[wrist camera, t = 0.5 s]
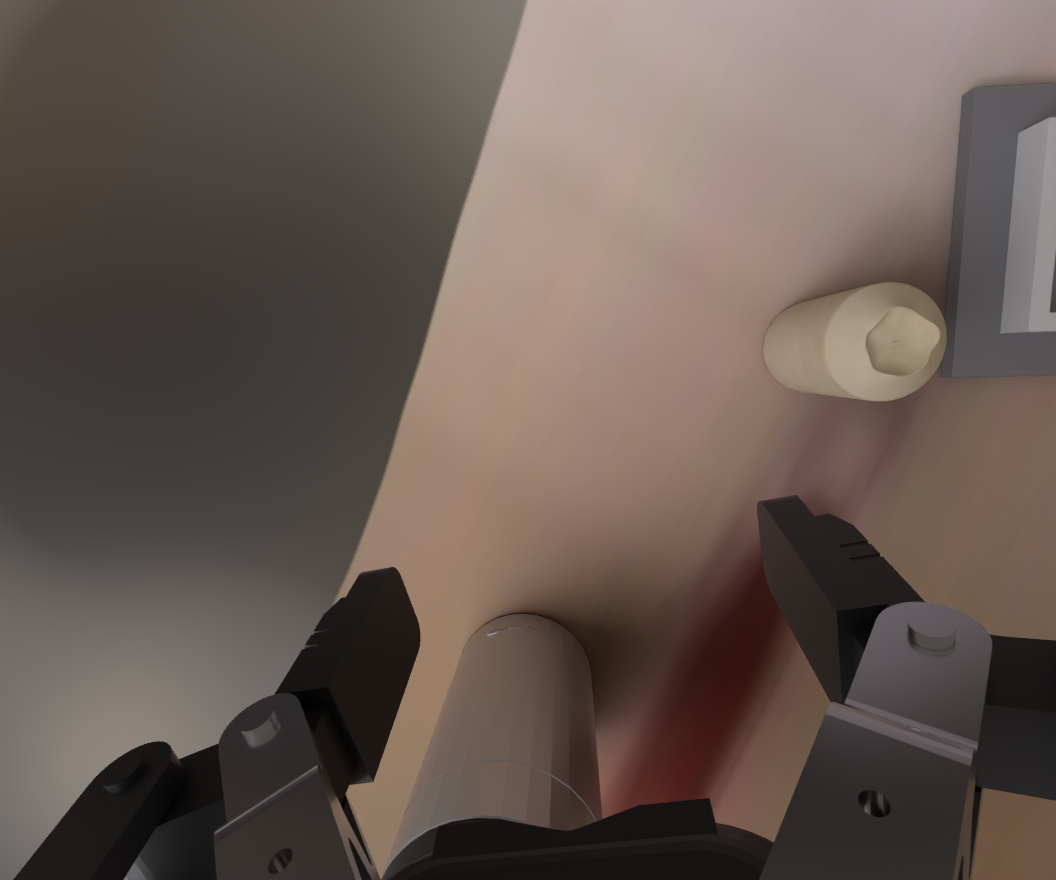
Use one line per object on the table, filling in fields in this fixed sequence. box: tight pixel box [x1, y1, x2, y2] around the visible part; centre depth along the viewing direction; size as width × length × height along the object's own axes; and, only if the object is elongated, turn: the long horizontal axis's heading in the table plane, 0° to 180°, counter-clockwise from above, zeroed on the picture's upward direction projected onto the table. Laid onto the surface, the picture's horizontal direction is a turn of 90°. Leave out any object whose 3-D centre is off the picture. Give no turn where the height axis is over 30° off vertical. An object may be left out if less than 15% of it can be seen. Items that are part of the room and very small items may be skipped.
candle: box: [763, 282, 947, 401], centre depth 29 cm, size 6×6×10 cm
